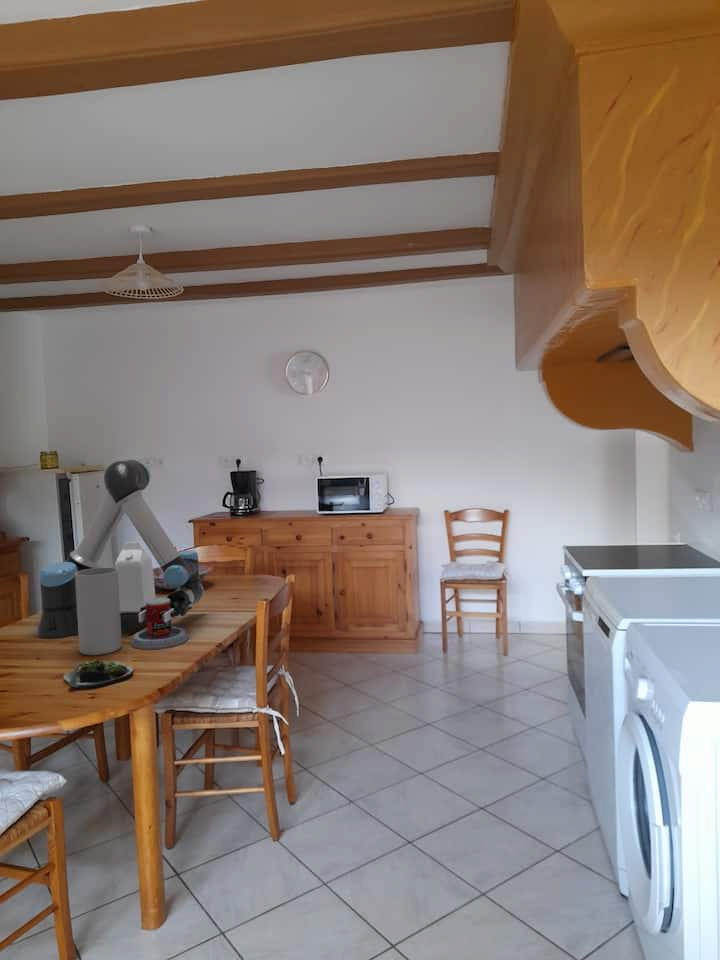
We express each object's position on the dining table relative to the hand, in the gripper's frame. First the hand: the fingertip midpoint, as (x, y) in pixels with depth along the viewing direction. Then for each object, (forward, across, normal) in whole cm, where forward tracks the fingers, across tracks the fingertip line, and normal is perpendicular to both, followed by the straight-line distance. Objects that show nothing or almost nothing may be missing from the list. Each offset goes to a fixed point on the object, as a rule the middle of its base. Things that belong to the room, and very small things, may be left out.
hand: (152, 618), depth 212 cm
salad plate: (+29, +3, -10) cm, 31 cm away
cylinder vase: (+4, +16, -9) cm, 19 cm away
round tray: (-5, 0, -9) cm, 10 cm away
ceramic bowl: (-83, +24, -9) cm, 87 cm away
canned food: (-5, 0, -7) cm, 8 cm away
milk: (-48, +29, -9) cm, 57 cm away
